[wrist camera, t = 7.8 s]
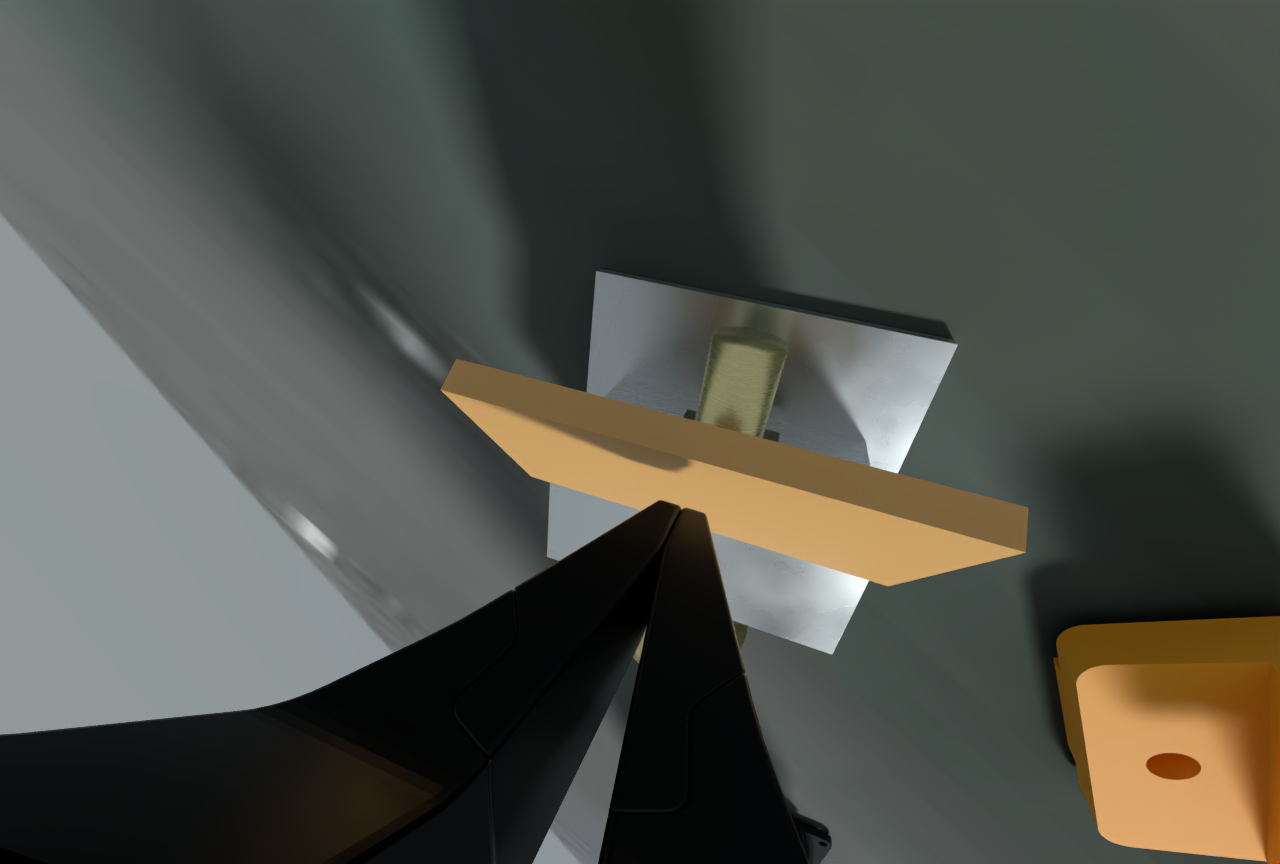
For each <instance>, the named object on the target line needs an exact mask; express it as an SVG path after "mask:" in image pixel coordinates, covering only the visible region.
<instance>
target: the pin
mask: <svg viewBox="0 0 1280 864" xmlns="http://www.w3.org/2000/svg"><path fill="white" fill-rule="evenodd" d="M788 349H789V345H788V343H787V342H786V341H785V340H783V339H782V338H780V337H778V336H776V335H774V334H771V333H768V332H765V331H762V330H758V329H753V328H748V327H739V326H724V327H719V328H716V329H715V330H714V331H713V334H712V339H711V344H710V349H709V354H708V358H707V363H706V368H705V373H704V378H703V383H702V388H701V393H700V397H699V402H698V407H697V412H696V417H695V421H698V422H702V423H706V424H710V425H714V426H717V427H721V428H725V429H729V430H733V431H737V432H740V433H744V434H748V435H752V436H756V437H760V438H763V436H764V432H765V429H766V425H767V422H768V418H769V415H770V411H771V408H772V404H773V401H774V398H775V394H776V391H777V387H778V384H779V380H780V377H781V373H782V370H783V366H784V363H785V360H786V356H787V353H788ZM732 621H733V620H732ZM733 625H734V629H735V633H736V637H737V641H738V645H739V649H740V652H741V649H742V646H743V643H744V640H745V637H746V633H747V625H744V624H741V623H739V622H736V621H733ZM645 632H646V630H645ZM644 637H645V633H644V635H643V637H642V639H641V641H640V644H639V646H638V648H637V650H636V652H635V654H634V656H633V658H634V659H635V660H636V661H637V662H638V663H639V662H640V657H641V652H642V647H643V642H644Z"/></svg>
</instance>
